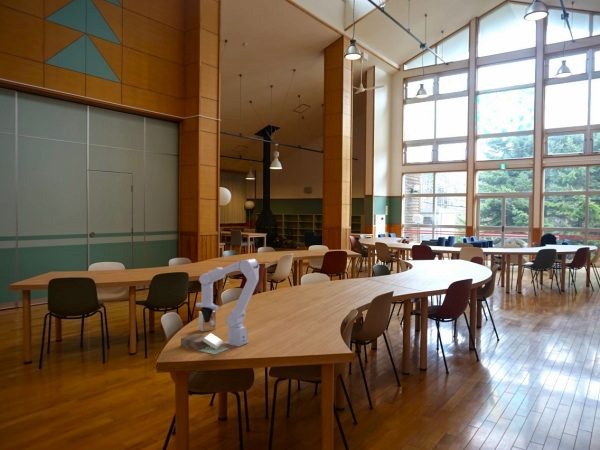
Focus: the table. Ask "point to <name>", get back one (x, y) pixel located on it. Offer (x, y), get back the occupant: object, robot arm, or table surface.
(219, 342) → the white rectangular block
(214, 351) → the mat
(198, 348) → the deck
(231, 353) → the table surface
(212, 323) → the small box
